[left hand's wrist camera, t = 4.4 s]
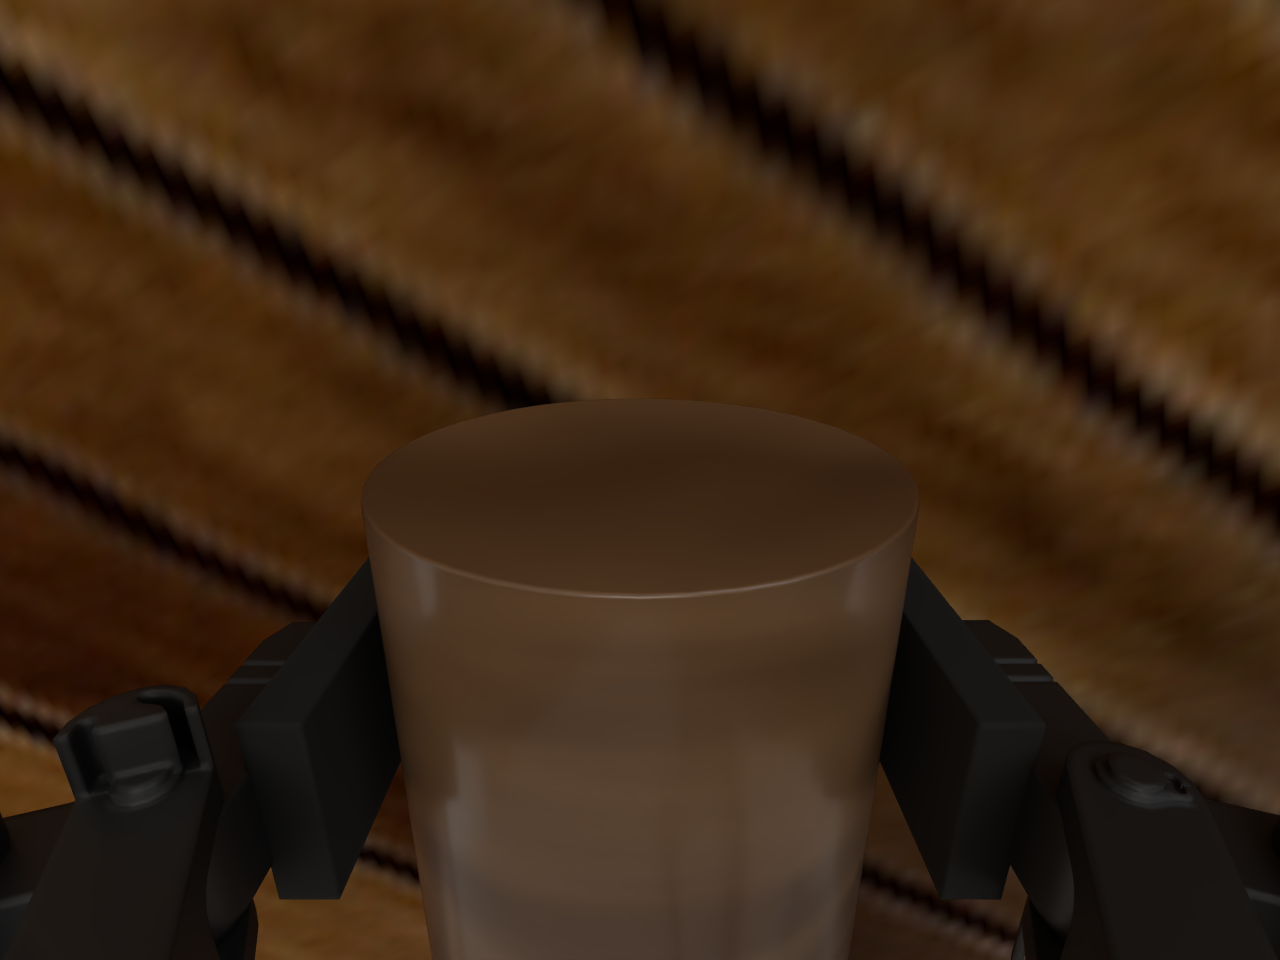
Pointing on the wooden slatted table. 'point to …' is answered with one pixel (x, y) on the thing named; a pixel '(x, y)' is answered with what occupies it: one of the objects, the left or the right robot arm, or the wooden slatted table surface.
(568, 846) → the rod
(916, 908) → the wooden slatted table surface
